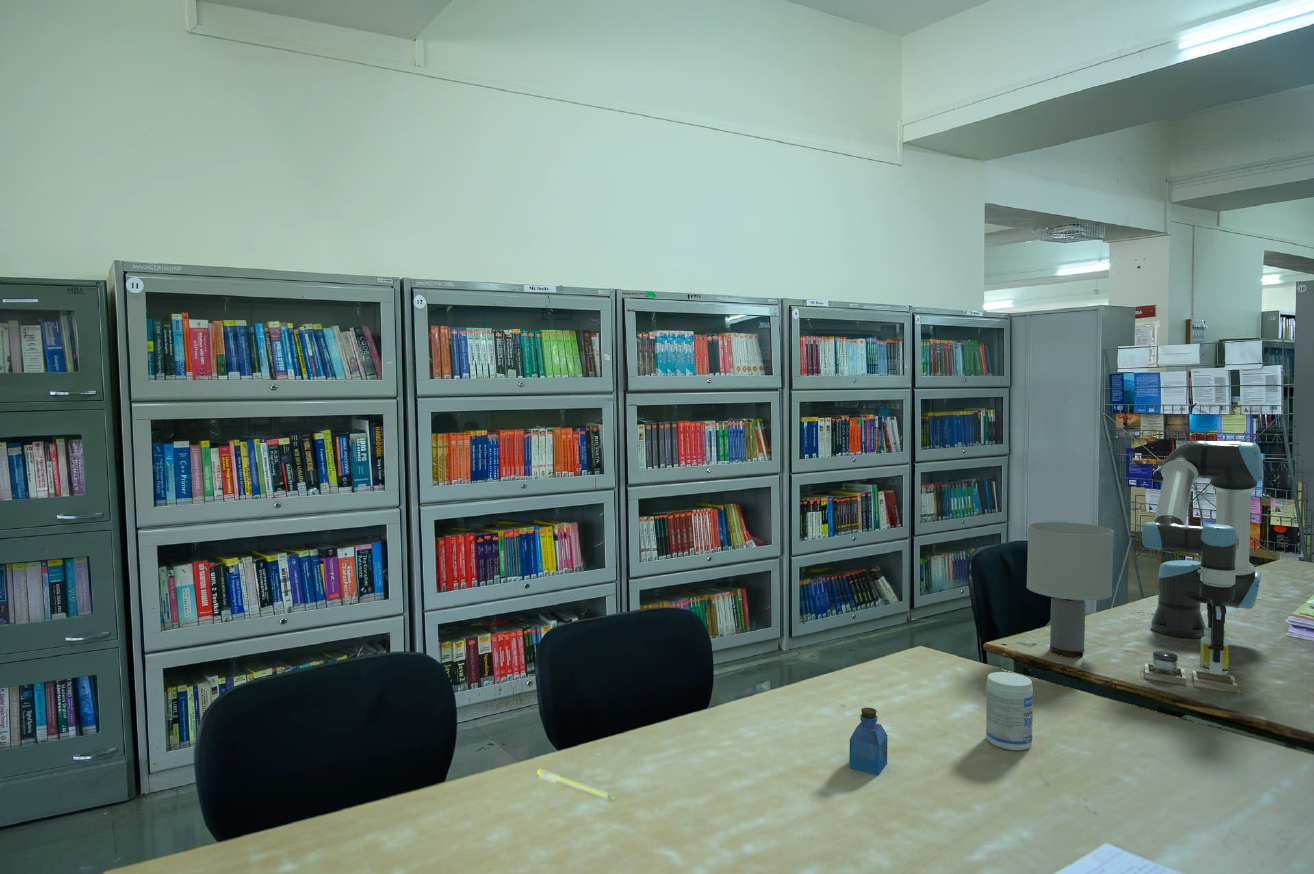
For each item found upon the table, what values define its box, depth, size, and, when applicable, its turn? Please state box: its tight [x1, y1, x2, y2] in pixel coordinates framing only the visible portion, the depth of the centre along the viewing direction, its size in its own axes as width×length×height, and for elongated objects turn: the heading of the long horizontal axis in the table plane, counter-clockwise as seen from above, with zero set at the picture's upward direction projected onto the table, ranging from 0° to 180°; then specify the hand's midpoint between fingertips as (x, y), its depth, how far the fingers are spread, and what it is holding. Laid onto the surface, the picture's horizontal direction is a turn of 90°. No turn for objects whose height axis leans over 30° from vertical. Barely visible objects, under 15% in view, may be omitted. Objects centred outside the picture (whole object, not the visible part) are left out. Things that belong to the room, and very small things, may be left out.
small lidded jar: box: [1152, 650, 1179, 676], centre depth 214 cm, size 6×6×6 cm
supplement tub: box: [985, 671, 1034, 751], centre depth 177 cm, size 10×10×15 cm
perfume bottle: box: [848, 707, 888, 777], centre depth 166 cm, size 6×6×12 cm
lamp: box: [1026, 521, 1115, 658], centre depth 237 cm, size 23×23×38 cm
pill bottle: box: [1199, 627, 1230, 675], centre depth 208 cm, size 6×6×11 cm
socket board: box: [1140, 662, 1243, 695], centre depth 212 cm, size 11×22×3 cm, turn 59°
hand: (1214, 669), depth 209 cm, fingers closed on pill bottle, 6 cm apart
